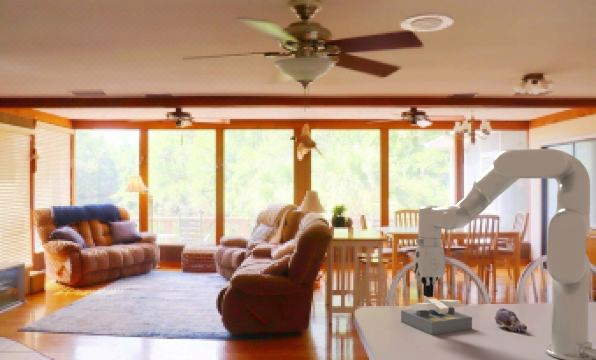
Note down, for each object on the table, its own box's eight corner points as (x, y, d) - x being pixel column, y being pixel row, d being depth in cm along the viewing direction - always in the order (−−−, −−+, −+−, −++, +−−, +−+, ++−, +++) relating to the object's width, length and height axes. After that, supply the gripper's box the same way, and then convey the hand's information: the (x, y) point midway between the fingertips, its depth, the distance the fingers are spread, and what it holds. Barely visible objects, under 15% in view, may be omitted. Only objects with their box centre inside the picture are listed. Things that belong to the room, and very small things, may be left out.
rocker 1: (436, 308, 176) (435, 302, 176) (427, 310, 174) (426, 303, 174) (419, 308, 184) (418, 302, 184) (411, 309, 182) (410, 303, 182)
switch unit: (472, 328, 177) (472, 312, 177) (431, 334, 170) (432, 318, 170) (439, 316, 193) (439, 301, 193) (401, 321, 186) (401, 306, 186)
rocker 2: (447, 312, 178) (448, 307, 178) (439, 314, 177) (440, 308, 176) (431, 301, 186) (432, 296, 186) (423, 302, 185) (424, 296, 184)
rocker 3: (461, 306, 180) (460, 300, 180) (453, 307, 179) (452, 301, 179) (444, 305, 188) (443, 299, 189) (436, 306, 187) (435, 300, 187)
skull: (532, 333, 172) (532, 315, 172) (512, 335, 170) (512, 316, 170) (509, 323, 184) (509, 306, 184) (490, 325, 182) (490, 307, 182)
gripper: (418, 244, 169) (417, 300, 170) (454, 243, 176) (453, 297, 176) (404, 241, 176) (403, 295, 176) (439, 240, 182) (438, 292, 183)
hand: (428, 296), depth 176 cm, fingers closed
